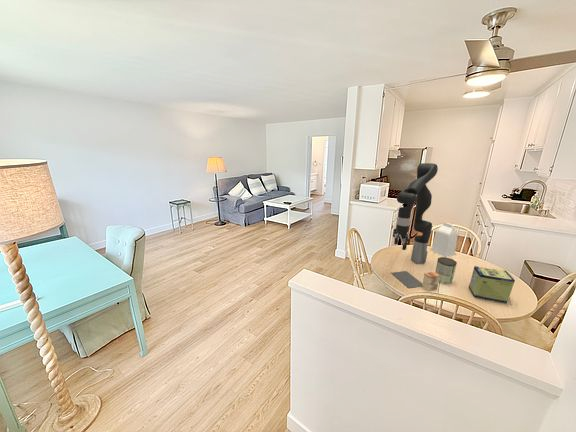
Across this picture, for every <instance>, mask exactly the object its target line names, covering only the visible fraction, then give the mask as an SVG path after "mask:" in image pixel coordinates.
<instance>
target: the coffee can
mask: <svg viewBox="0 0 576 432" xmlns="http://www.w3.org/2000/svg"><path fill="white" fill-rule="evenodd" d="M457 263H458V262H457V261H456V260H454V259H453V258H450V257H443V256H441V257H438V258H437V262H436V268H435V271H434V272H435V273H437V274H438V275H440V278H439V283H441V284H446V285H447V284H448V285H451V284H452V283H453V279H454V276H455V273H456V272H455V271H456V267H457Z"/></svg>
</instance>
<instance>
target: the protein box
mask: <svg viewBox="0 0 576 432" xmlns="http://www.w3.org/2000/svg"><path fill="white" fill-rule="evenodd" d="M470 278H471V279H470V281H469V286H468V289H469V290H470V292H471V293H472V296H473V297H474V298H477V299H482V300H488V301H493V302H497V303H498V302H499V303H502V302H503V304H508V302H509V300H510V297H511V293H512V289H513V287H514V284H515V281H516V280H515V279H514V277H513V276H512V275H511V274H510V273H509V272H508V271H507V270H504V269H498V268H491V267H482V266H477V265H474V267H473V269H472V274H471V277H470Z"/></svg>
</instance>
